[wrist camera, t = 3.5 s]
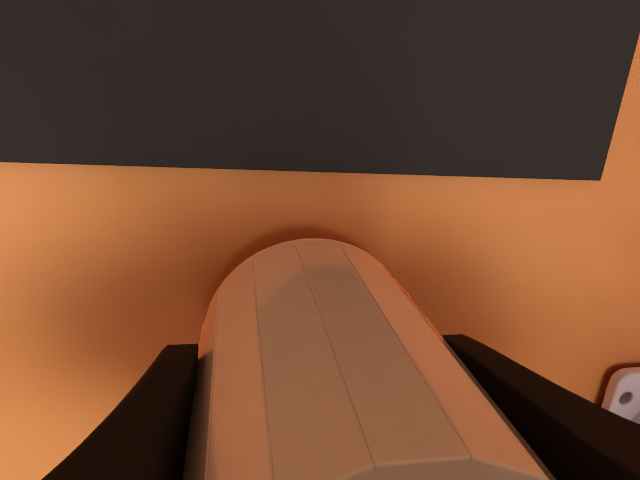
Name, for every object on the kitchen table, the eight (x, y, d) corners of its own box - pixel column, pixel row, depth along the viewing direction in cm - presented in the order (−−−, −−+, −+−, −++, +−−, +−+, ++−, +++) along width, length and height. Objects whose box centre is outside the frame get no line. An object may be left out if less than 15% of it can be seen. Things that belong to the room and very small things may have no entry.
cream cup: (393, 411, 13) (543, 727, 7) (204, 423, 12) (173, 805, 6) (417, 238, 12) (647, 440, 5) (200, 236, 11) (151, 485, 4)
